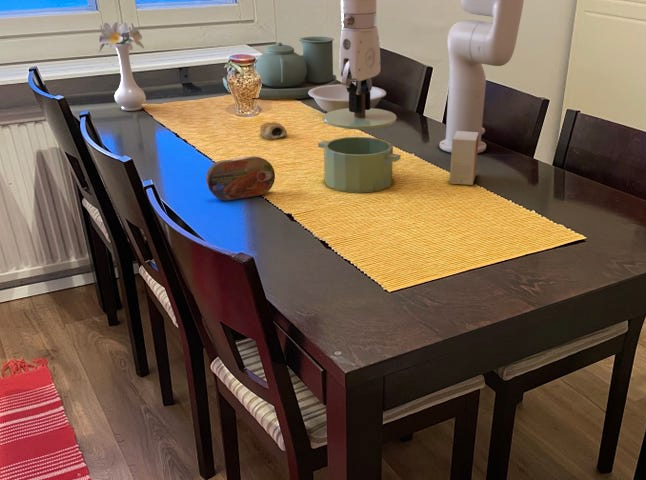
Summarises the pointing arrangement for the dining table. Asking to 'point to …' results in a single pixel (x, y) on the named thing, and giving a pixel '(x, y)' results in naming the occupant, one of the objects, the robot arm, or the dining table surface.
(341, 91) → the soup bowl
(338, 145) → the casserole
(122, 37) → the flower vase
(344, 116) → the pot lid
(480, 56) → the robot arm
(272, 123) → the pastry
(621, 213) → the dining table surface
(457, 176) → the small box
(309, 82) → the tea set
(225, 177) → the tin
